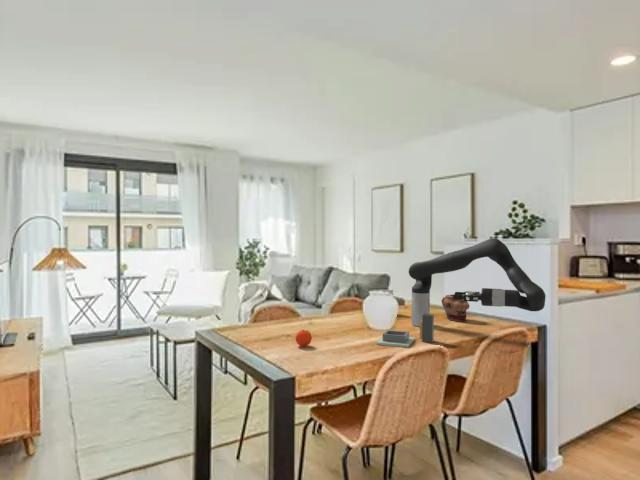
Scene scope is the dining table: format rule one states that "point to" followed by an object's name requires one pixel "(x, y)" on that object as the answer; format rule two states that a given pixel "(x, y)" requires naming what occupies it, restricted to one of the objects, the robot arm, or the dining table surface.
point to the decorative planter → (455, 308)
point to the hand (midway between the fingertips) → (453, 295)
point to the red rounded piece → (303, 338)
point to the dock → (396, 339)
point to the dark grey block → (427, 328)
